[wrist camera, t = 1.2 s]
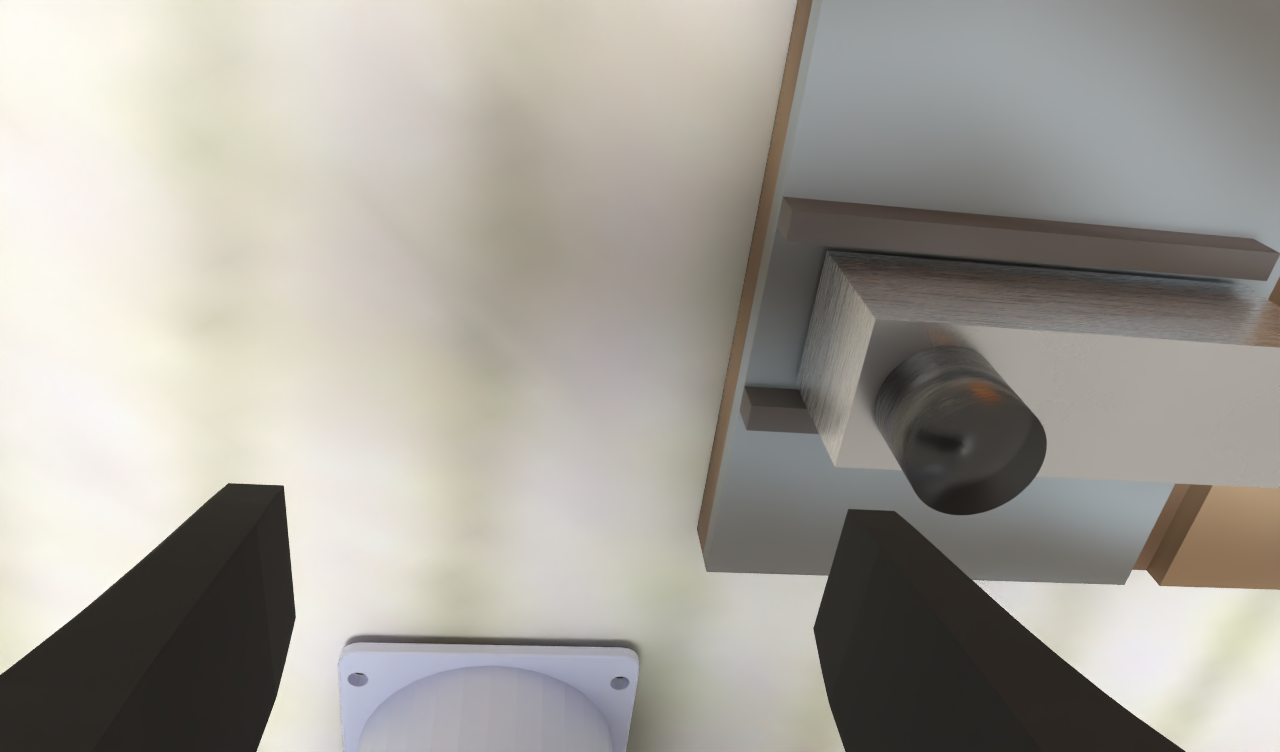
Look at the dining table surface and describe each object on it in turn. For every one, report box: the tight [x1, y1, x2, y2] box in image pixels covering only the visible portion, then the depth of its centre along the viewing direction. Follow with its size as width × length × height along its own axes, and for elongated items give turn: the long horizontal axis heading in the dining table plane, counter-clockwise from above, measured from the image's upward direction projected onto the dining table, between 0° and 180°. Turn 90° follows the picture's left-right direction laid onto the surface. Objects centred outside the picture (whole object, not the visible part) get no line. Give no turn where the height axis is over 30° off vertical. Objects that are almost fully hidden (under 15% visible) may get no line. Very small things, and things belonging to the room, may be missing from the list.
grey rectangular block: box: [796, 251, 1280, 515], centre depth 17 cm, size 3×9×5 cm, turn 83°
